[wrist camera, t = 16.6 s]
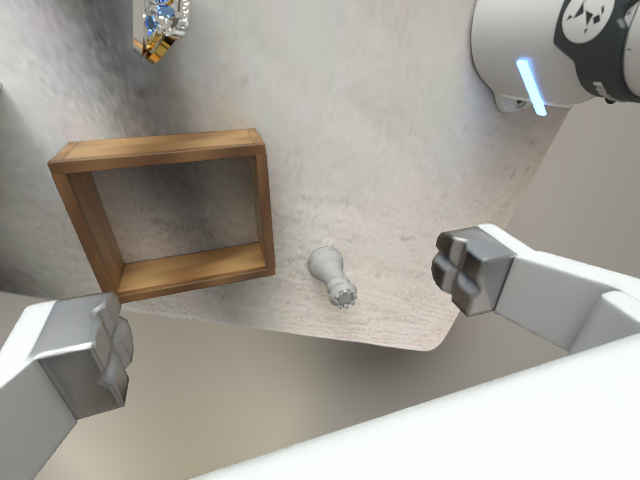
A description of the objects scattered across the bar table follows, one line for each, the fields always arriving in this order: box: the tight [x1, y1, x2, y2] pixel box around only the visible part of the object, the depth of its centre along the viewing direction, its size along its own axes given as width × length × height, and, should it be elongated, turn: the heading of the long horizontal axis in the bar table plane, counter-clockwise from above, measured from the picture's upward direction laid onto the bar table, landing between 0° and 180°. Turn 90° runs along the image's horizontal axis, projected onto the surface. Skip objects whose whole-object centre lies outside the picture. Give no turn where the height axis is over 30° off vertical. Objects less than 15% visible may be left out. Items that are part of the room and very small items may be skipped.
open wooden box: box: [47, 128, 275, 304], centre depth 32 cm, size 16×14×5 cm
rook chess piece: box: [307, 247, 357, 309], centre depth 41 cm, size 4×4×8 cm
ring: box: [133, 0, 191, 64], centre depth 23 cm, size 7×3×8 cm, turn 139°
